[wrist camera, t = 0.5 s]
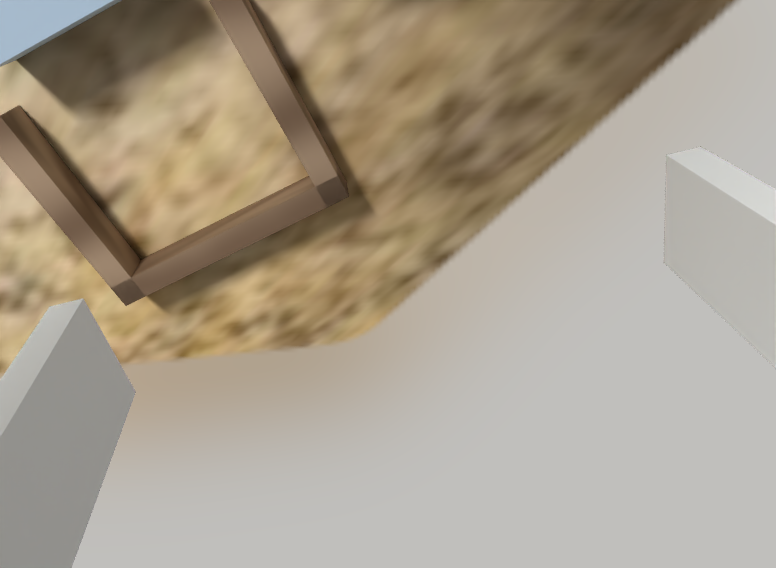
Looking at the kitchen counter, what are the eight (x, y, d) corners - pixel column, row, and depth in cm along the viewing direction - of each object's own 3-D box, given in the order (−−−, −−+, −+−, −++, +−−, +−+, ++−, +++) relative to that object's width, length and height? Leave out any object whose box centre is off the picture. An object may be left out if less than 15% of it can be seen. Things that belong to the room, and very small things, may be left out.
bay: (-3, 117, 35) (-24, 128, 33) (239, -17, 33) (234, -13, 31) (135, 286, 42) (125, 305, 39) (346, 182, 40) (348, 196, 37)
